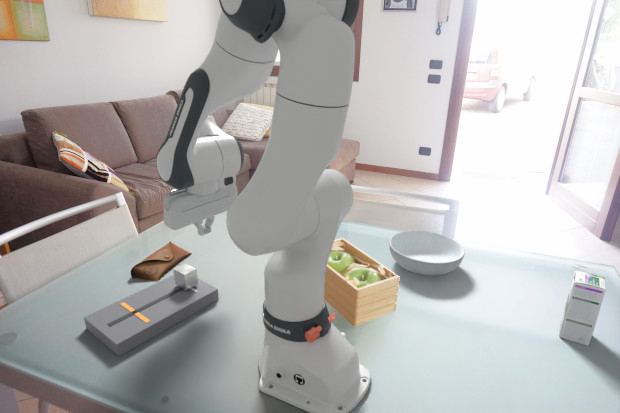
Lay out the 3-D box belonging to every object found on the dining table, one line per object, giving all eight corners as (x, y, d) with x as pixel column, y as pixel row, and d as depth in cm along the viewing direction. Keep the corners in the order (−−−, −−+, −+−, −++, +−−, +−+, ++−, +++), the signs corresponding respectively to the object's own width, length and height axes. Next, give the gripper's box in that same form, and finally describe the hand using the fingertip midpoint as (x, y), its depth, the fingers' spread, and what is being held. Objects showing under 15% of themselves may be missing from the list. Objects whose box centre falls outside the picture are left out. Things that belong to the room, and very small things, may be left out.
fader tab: (198, 284, 102) (196, 268, 101) (186, 290, 100) (184, 274, 98) (187, 278, 105) (185, 263, 103) (175, 284, 102) (173, 268, 100)
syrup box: (589, 347, 88) (608, 289, 83) (557, 337, 91) (574, 280, 85) (589, 332, 92) (607, 277, 87) (559, 323, 95) (574, 269, 90)
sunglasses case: (157, 282, 109) (143, 261, 108) (140, 290, 112) (126, 270, 111) (193, 252, 125) (182, 234, 124) (177, 260, 128) (166, 242, 127)
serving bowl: (461, 291, 107) (465, 268, 105) (382, 277, 114) (384, 255, 111) (461, 255, 126) (464, 235, 123) (392, 245, 132) (394, 225, 129)
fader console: (218, 299, 102) (217, 288, 101) (119, 356, 83) (116, 344, 82) (184, 280, 110) (183, 270, 109) (86, 328, 91) (83, 316, 90)
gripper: (171, 196, 89) (177, 252, 94) (241, 175, 104) (242, 224, 109) (154, 189, 92) (161, 243, 98) (224, 169, 107) (226, 217, 113)
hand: (204, 233), depth 103 cm, fingers closed
